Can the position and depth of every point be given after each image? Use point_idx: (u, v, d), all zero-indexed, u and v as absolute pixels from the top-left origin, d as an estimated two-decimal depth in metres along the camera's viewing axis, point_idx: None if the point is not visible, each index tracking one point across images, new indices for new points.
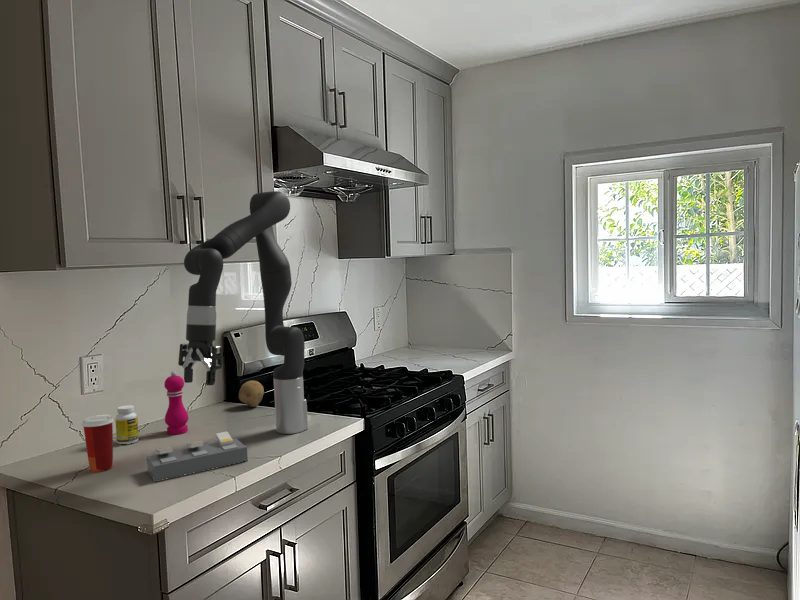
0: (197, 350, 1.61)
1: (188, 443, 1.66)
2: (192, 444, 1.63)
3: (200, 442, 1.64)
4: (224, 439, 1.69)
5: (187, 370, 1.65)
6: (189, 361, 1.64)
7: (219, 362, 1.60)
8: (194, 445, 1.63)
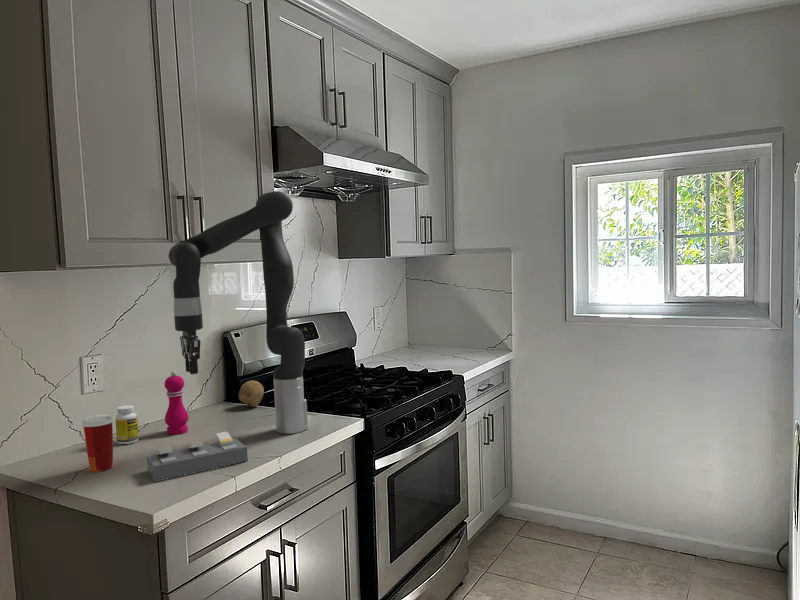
0: (183, 339, 1.73)
1: (188, 443, 1.66)
2: (192, 444, 1.63)
3: (200, 442, 1.64)
4: (224, 439, 1.69)
5: (187, 360, 1.76)
6: (185, 350, 1.76)
7: (197, 354, 1.71)
8: (194, 445, 1.63)
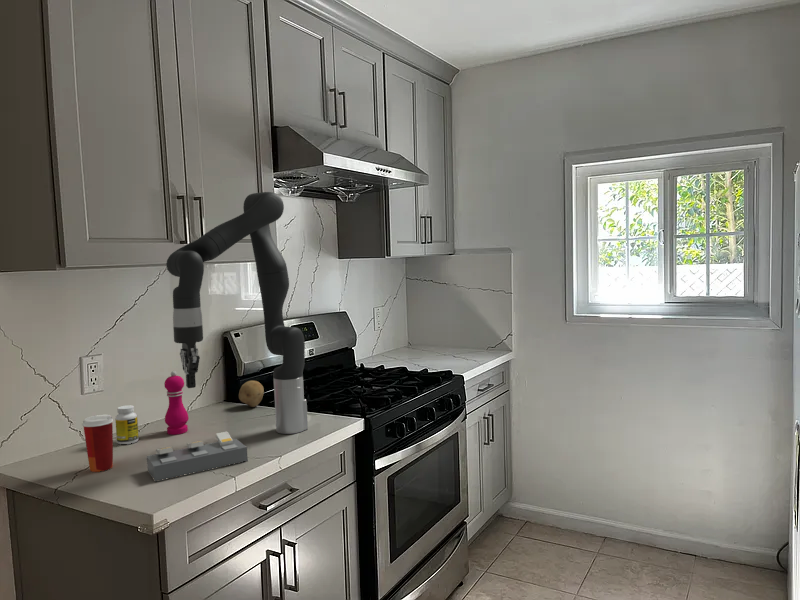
0: (182, 351, 1.64)
1: (188, 443, 1.66)
2: (192, 444, 1.63)
3: (200, 442, 1.64)
4: (224, 439, 1.69)
5: None
6: None
7: (195, 368, 1.64)
8: (194, 445, 1.63)
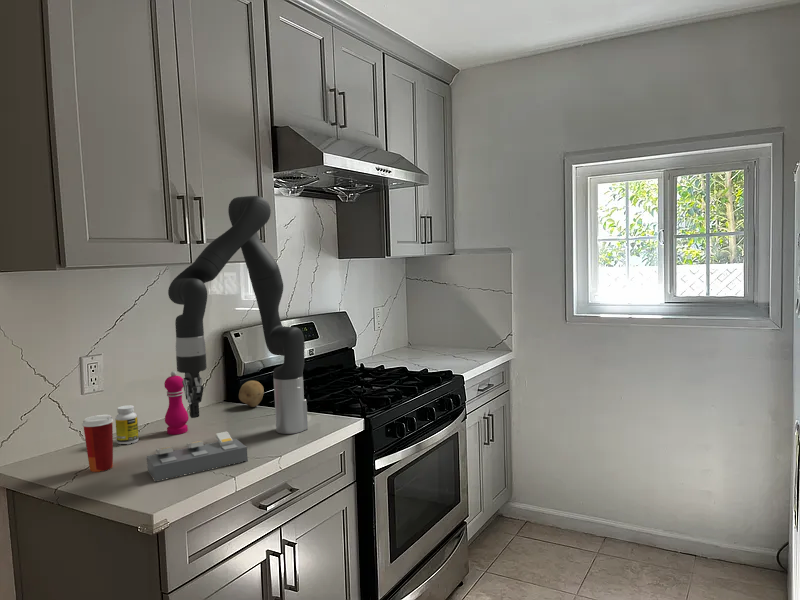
0: (186, 381, 1.61)
1: (188, 443, 1.66)
2: (192, 444, 1.63)
3: (200, 442, 1.64)
4: (224, 439, 1.69)
5: None
6: None
7: (199, 397, 1.61)
8: (194, 445, 1.63)
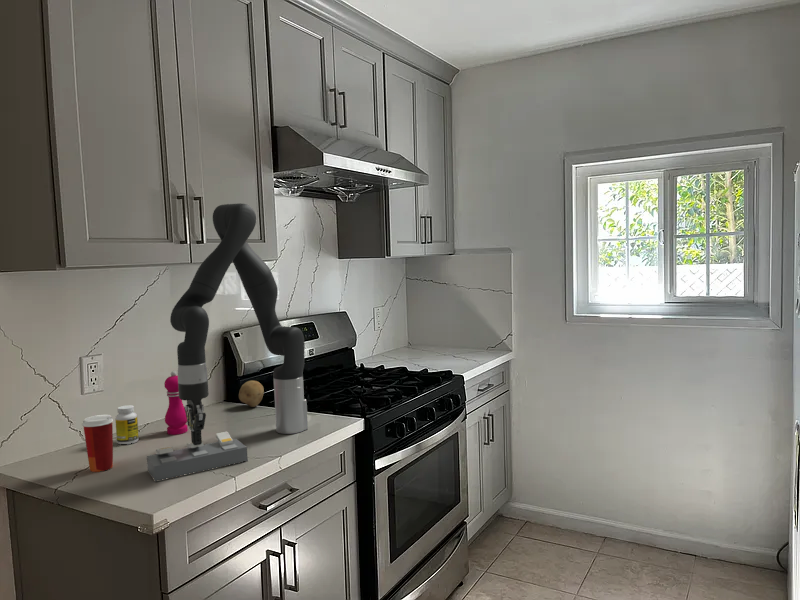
0: (188, 408, 1.61)
1: (188, 443, 1.66)
2: (192, 444, 1.63)
3: None
4: (224, 439, 1.69)
5: None
6: None
7: (201, 425, 1.61)
8: (194, 445, 1.63)
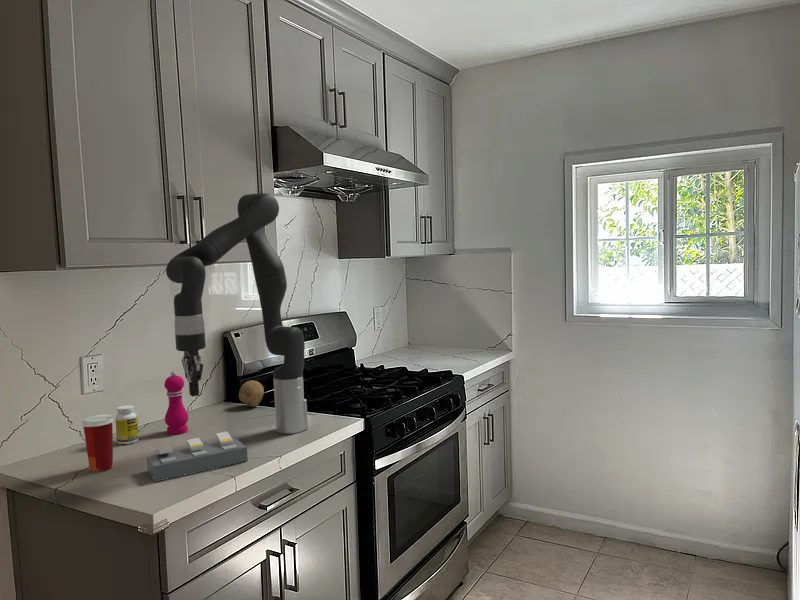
0: (185, 359, 1.61)
1: (188, 442, 1.66)
2: (192, 448, 1.63)
3: (200, 446, 1.64)
4: (224, 439, 1.69)
5: None
6: None
7: (199, 376, 1.61)
8: (194, 449, 1.64)
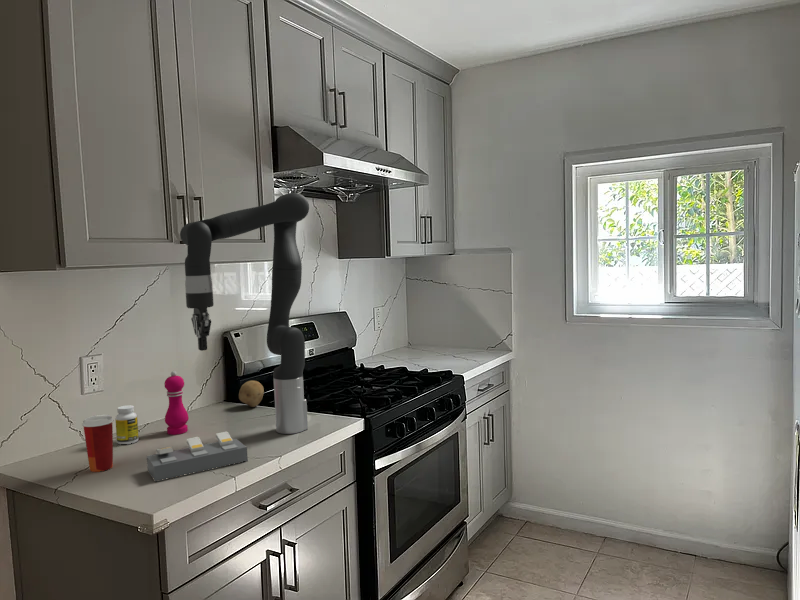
0: (195, 316, 1.76)
1: (188, 442, 1.65)
2: (192, 449, 1.63)
3: (200, 447, 1.64)
4: (224, 439, 1.69)
5: None
6: None
7: (207, 331, 1.76)
8: (194, 450, 1.64)
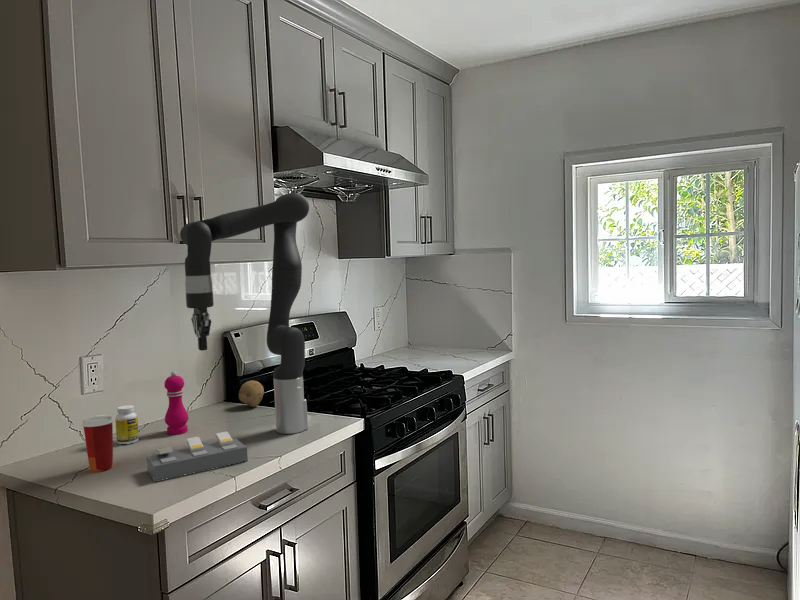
0: (195, 316, 1.76)
1: (188, 442, 1.65)
2: (192, 450, 1.63)
3: (200, 447, 1.64)
4: (224, 439, 1.69)
5: None
6: None
7: (207, 331, 1.76)
8: (194, 450, 1.64)
